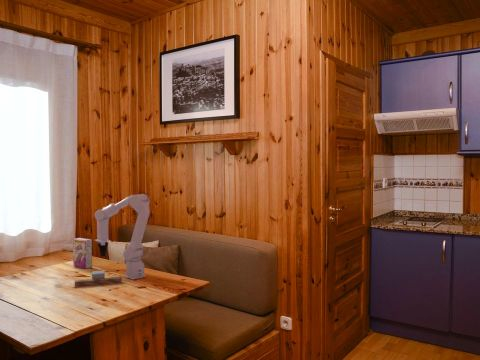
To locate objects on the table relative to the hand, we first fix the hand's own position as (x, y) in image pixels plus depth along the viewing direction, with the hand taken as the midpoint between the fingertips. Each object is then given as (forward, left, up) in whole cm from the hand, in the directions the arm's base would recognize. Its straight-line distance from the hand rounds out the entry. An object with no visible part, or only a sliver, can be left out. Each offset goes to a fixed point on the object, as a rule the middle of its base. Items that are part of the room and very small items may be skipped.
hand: (103, 256), depth 232 cm
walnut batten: (-18, +14, -9) cm, 24 cm away
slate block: (-14, +12, -10) cm, 20 cm away
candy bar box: (+21, 0, -10) cm, 23 cm away
